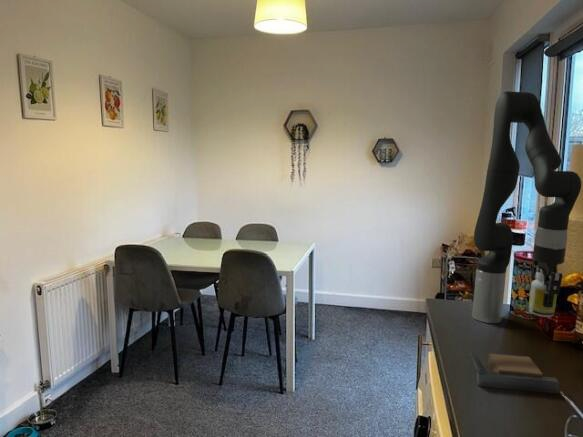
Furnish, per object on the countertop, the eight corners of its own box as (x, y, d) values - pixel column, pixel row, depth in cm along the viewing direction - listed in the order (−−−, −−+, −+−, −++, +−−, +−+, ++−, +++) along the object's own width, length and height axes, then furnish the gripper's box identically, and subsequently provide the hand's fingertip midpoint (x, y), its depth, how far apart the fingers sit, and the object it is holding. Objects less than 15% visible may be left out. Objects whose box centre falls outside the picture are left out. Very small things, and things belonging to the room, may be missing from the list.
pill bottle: (557, 319, 120) (563, 278, 118) (532, 316, 121) (537, 276, 119) (549, 310, 126) (554, 271, 124) (524, 307, 127) (529, 269, 125)
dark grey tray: (463, 355, 124) (464, 345, 123) (532, 362, 121) (533, 351, 120) (478, 385, 108) (479, 374, 107) (557, 393, 105) (558, 382, 105)
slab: (487, 367, 118) (489, 353, 117) (527, 371, 116) (529, 357, 116) (497, 385, 109) (499, 370, 109) (540, 389, 108) (542, 374, 107)
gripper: (526, 237, 127) (519, 292, 130) (545, 249, 114) (537, 310, 116) (554, 239, 126) (546, 294, 129) (577, 251, 112) (568, 313, 115)
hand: (542, 302), depth 123 cm, fingers closed on pill bottle, 6 cm apart
